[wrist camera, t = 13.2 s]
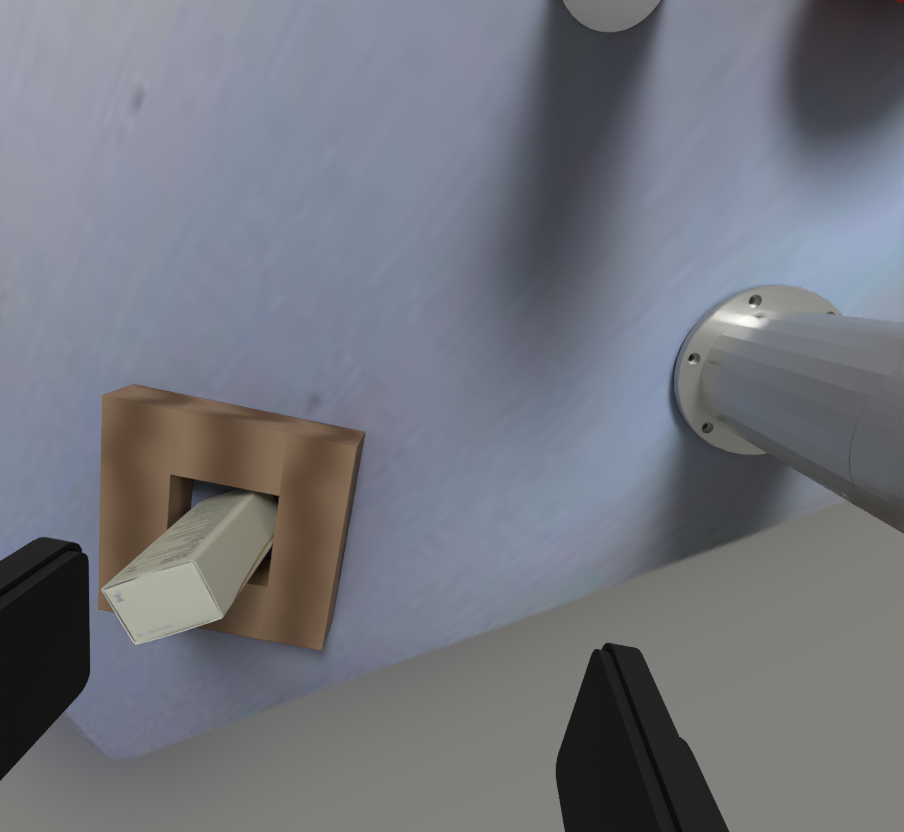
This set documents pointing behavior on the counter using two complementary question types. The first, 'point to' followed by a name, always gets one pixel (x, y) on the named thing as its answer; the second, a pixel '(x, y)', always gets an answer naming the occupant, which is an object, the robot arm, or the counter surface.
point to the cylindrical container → (610, 13)
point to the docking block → (238, 465)
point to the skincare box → (194, 566)
